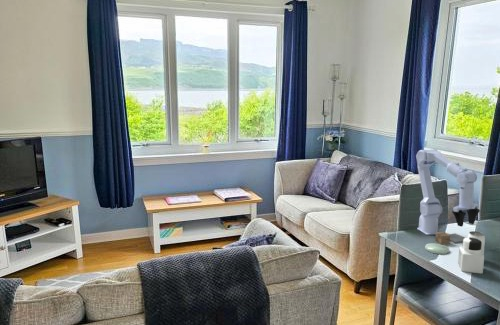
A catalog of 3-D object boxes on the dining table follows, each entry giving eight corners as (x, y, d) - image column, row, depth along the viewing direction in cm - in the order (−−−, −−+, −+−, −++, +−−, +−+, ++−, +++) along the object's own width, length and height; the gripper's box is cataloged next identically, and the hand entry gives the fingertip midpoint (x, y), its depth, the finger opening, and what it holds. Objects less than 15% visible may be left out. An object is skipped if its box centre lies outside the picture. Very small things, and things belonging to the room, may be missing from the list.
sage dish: (420, 246, 179) (420, 243, 179) (440, 245, 180) (440, 242, 180) (433, 254, 169) (433, 252, 169) (453, 253, 170) (453, 251, 170)
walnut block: (435, 241, 185) (435, 232, 185) (443, 240, 186) (444, 232, 185) (440, 244, 181) (441, 235, 180) (449, 244, 182) (450, 235, 181)
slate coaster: (441, 236, 190) (441, 235, 190) (455, 234, 193) (455, 233, 193) (455, 243, 182) (455, 241, 182) (469, 241, 184) (470, 239, 184)
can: (462, 256, 167) (464, 231, 165) (476, 255, 168) (478, 230, 165) (472, 262, 161) (474, 236, 159) (486, 262, 161) (489, 235, 159)
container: (478, 265, 158) (481, 236, 156) (482, 274, 151) (485, 243, 148) (457, 263, 160) (460, 235, 158) (461, 271, 153) (464, 241, 151)
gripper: (463, 199, 168) (462, 229, 169) (485, 196, 173) (484, 224, 174) (449, 197, 174) (449, 225, 175) (470, 193, 180) (470, 221, 181)
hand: (465, 224), depth 175 cm, fingers open, 7 cm apart
